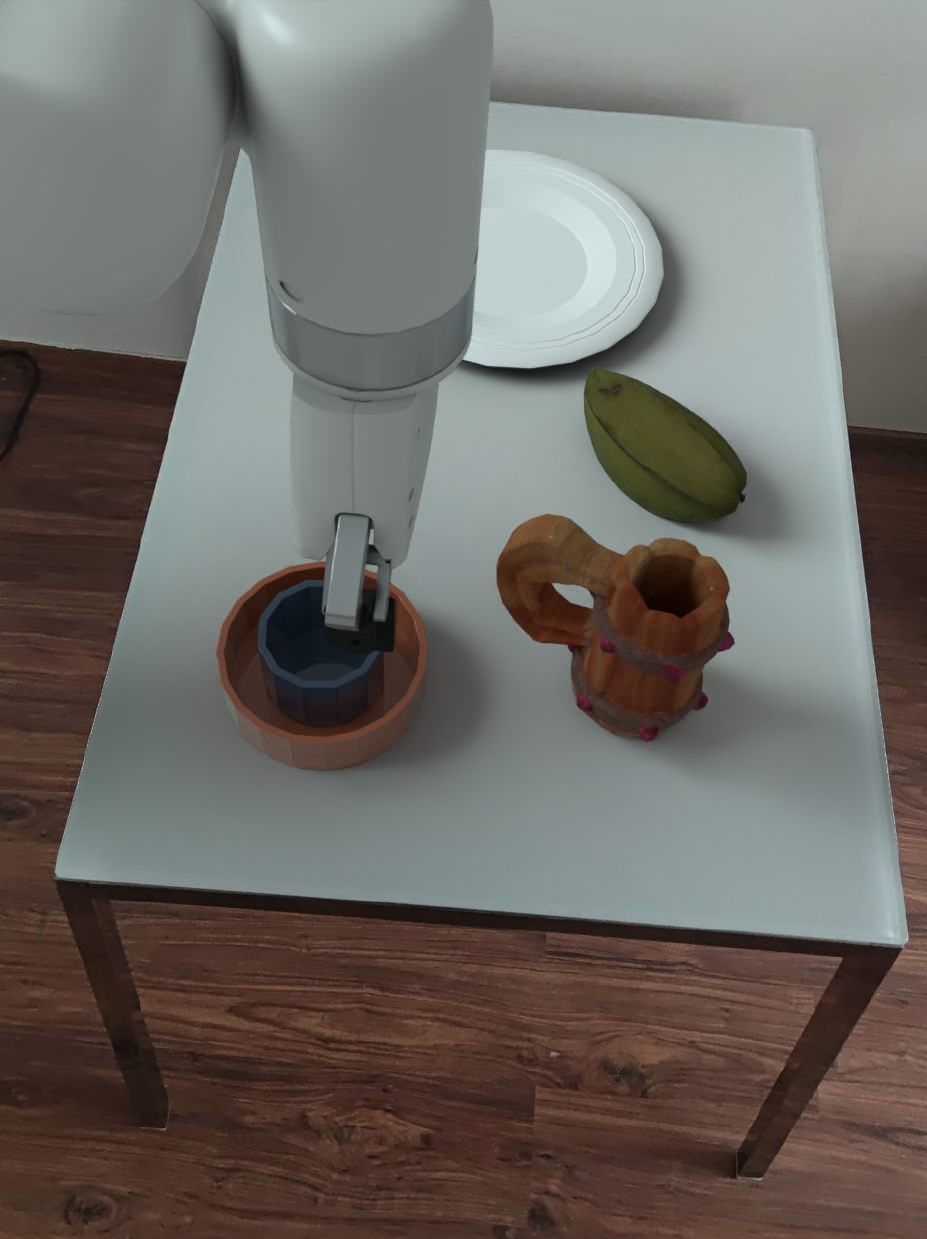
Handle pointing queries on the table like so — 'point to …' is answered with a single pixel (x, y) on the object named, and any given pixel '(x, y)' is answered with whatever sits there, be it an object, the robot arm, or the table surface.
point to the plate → (557, 264)
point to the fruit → (661, 450)
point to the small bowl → (313, 663)
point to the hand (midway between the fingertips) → (377, 557)
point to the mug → (620, 620)
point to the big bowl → (308, 742)
